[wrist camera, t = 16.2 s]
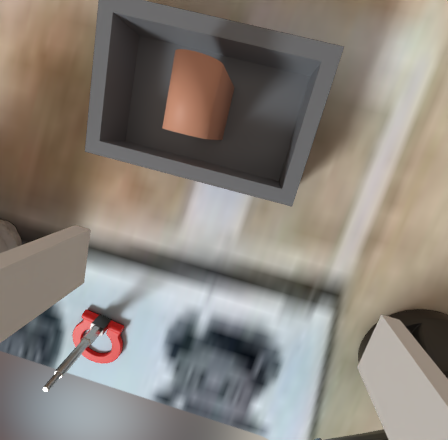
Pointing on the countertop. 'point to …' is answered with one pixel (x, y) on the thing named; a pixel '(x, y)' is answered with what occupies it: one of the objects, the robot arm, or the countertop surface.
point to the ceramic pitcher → (8, 236)
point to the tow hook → (97, 327)
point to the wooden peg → (198, 96)
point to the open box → (240, 104)
